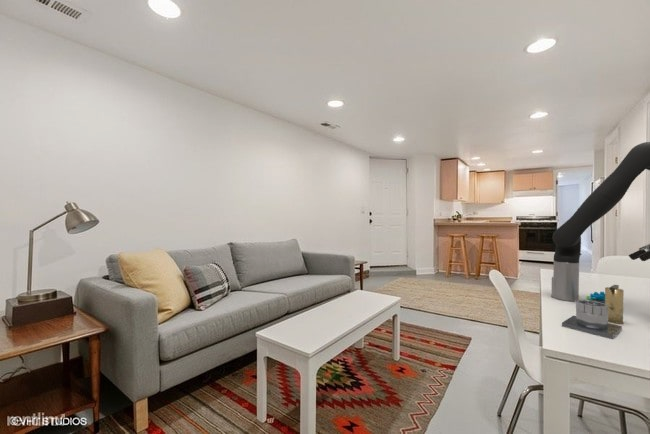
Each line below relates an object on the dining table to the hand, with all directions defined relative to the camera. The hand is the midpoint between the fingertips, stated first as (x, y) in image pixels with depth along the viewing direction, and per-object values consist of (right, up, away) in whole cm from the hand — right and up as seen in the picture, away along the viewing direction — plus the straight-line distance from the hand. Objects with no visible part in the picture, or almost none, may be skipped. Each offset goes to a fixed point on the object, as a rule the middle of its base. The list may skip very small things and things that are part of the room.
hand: (635, 258), depth 110 cm
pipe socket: (-23, -23, -8) cm, 33 cm away
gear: (+2, -23, +14) cm, 27 cm away
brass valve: (-9, -23, -1) cm, 25 cm away
